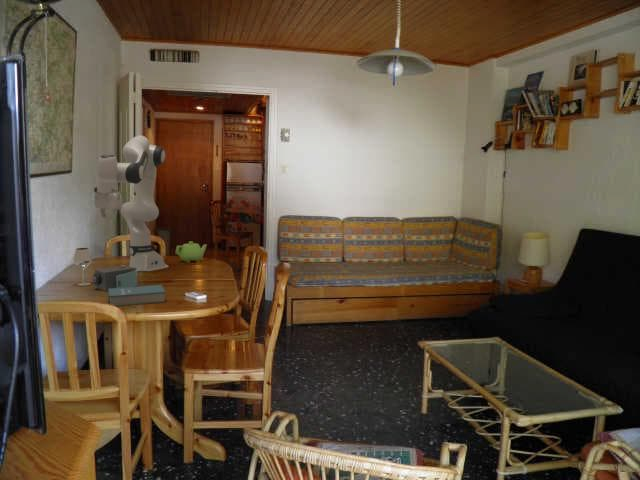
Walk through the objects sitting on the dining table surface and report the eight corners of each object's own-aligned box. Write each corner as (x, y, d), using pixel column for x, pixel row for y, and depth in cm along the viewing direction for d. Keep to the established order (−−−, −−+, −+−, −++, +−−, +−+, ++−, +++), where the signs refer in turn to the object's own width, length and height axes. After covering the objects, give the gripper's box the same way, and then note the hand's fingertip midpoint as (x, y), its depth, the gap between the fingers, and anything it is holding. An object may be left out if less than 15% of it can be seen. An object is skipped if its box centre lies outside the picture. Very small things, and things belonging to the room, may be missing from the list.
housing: (126, 283, 266) (125, 264, 265) (136, 286, 260) (136, 266, 259) (91, 288, 253) (90, 268, 252) (101, 292, 246) (100, 271, 245)
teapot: (203, 258, 343) (203, 239, 341) (210, 261, 331) (210, 241, 330) (172, 261, 332) (172, 241, 331) (179, 264, 321) (178, 243, 319)
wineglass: (75, 286, 257) (73, 250, 254) (74, 283, 264) (72, 248, 262) (93, 285, 260) (91, 249, 258) (92, 282, 268) (90, 247, 265)
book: (109, 307, 221) (109, 296, 220) (108, 299, 235) (108, 288, 235) (165, 302, 229) (165, 291, 229) (161, 294, 244) (161, 284, 243)
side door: (136, 285, 260) (135, 269, 259) (139, 285, 259) (139, 269, 258) (116, 292, 245) (116, 275, 244) (120, 292, 245) (119, 275, 244)
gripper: (125, 189, 245) (125, 219, 246) (104, 188, 258) (104, 216, 260) (112, 189, 240) (113, 219, 242) (91, 188, 254) (92, 217, 255)
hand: (108, 218), depth 251 cm, fingers open, 8 cm apart
